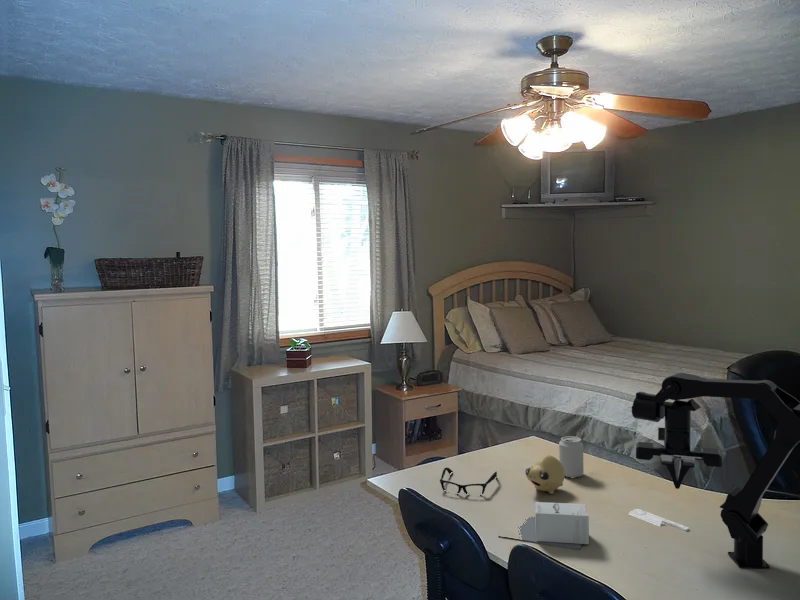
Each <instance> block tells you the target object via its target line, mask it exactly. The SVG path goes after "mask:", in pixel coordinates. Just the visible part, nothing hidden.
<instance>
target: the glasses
mask: <svg viewBox="0 0 800 600" xmlns="http://www.w3.org/2000/svg"><path fill="white" fill-rule="evenodd" d="M446 472H447V473H448V474H449V475H450V473H451V472H453V473H454V471H453V470H452V469H451V468H449V467H444V469H443V470H442V472H441V478H440V479H439V482H440V485H441V489H442V490H443V491H444V490H446V488H445V486H444V484H450V485H455V486H457V487H458V490H457V492H456V493H459V494H460V493H461V491H463V492H464V494H465V493H466V494H467V493H468V494H469V492H468V491H467V488H466V487H471V486H472V487H473V486H477V487H482V491H481V493H482V494H484V493H485V491H486V488H487V485H488V484H490V483H491V482H492V481H494V480H496V479H495V477H498V472H497V471H495V472H494V473H492V475H491V476H490V477H489V478H488V479H487V481H486V482H485V483H470V484H459V483H457V482H452V481H448V480H444V476H445V474H446ZM466 494H465V495H466Z"/></svg>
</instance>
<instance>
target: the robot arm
mask: <svg viewBox="0 0 800 600" xmlns="http://www.w3.org/2000/svg"><path fill="white" fill-rule="evenodd" d="M701 397H706V398H707V397H708V398H709V397H711V398H712V397H713V398H727V399H730V398H731V399H743V400H745V399H747V400H757V401H758V402H760V403H761V404H762V405H763V406H764V408H765V409H766V410H767V411H768V412H769V414H770V416H772V417H773V418H774V419H775V420H776V421H777V423H776V424H777V425H776V428H775V430H774V436H773V440H772V441H771V444H770V445H769V447H768V448H767V450H766V451H765V453H764V455H763V456H762V458H761V460H760V461H759V462H758V464H757V465H756V467H755V469H754V470H753V472H752V473H751V475H750V477H749V478H748V480H747V481H746V483H745V485H744V486H743V487H742V489H741V488H740V487H739V486H735V487H733V489H732V490H731V491H729V492H728V494H727V496H726V498H725V501H724V502H723V503H722V504H720V506H719V508H720V509H721V511H720V518H721V521H722V522H723V523H724V525H726V527H727V530H728V534H729V536H730V537H731V539H733V551H728V552H727V556H729V558H730V559H732V561H733V562H734V563H735V564H736V566H737V567H739V568H741V569H742V568H743V569H744V568H745V569H771V566H770V565H769V563H767V561H766V560H765V559H764V536H763V534H764V533H765V532H767V529H768V527H769V523H768V522H767V521H766V520H765V519H764V518H763V516H762V515H761V514H760V513H759V511H760V507H761V505H762V500H763V496H764V494H765V493H766V491H767V490H768V488H769V486H770V485H771V483H772V482H773V480H774V479H775V477H776V475H778V473H779V471H780V470H781V468H782V467H783V465H784V464H785V462H786V460H787V459H788V457H789V456H790V454H791V453H792V451H793V450H794V448H795V447H796V446H797V445H798V444H799V443H800V400H798V399H797V398H796V397H794V396H793V395H791V394H790V393H788V392H787V391H785V390H784V389H782V388H780V387H779V386H778V385H777V384H775V382H773V381H772V380H768V379H763V380H750V379H749V380H748V379H747V380H746V379H745V380H744V379H725V378H724V379H721V378H719V379H718V378H705V377H702V376H699V375H696V374H690V373H687V372H677V373H674V374H672V375H670V376H667V377H665V378H664V379H663V380H662V383H661V388H660V390H659V391H658V392H657V393H656V394H654V393H647V392H645V391H637V392H636V393H635V398H634V400H633V403H632V406H631V415H632V417H633V418H634V419H638V420H643V421H649V422H654V423H659V422H660V421H661V420H662V419H663V420H664V427H657V440H658V441H662V442H663V446H664V447H663V448H662V447H655V446H654V443H653V442H646V441H638V442H637V443H635V444H636V446H635V459H637V460H643V461H650V460H652V459H654V456H657V457H660V464H661V465H663V466H665V467H666V468H667V470H668V472H669V475H670V476H671V480H672V482H673V486H674V489H676V490H679V489H680V487H681V485H682V484H683V480H684V479H685V476H686V475H687V473H688V472H689V470H690V468H691V469H692V468H693V469H694V468H695V466H696V465H695V461H696V460H699V461H703V464H704V465H706V467H715V468H716V467H717V468H722V466H723V457H722V453H721V451H720V450H719V448H714V447H701V450H700V451H697V450H691V446H692V445H691V440H692V439H691V437H692V436H691V435H692V426H691V424H692V423H691V422H692V421H691V420H692V417H691V416H692V415H691V413H692V412H696V411H697V410H699V409H701V405H700V404H698V403H697V402H696V401H695V398H701ZM668 400H672V401H673V402H671V401H668ZM687 400H688V401H687ZM675 458H677V459H678V458H679V466H678V471H677V472H676V465H675V464H676V463H675ZM677 473H678V474H677Z"/></svg>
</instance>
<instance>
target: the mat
mask: <svg viewBox="0 0 800 600" xmlns="http://www.w3.org/2000/svg"><path fill="white" fill-rule="evenodd" d="M530 517H531V518H530ZM530 517H529V518H528V519H527V520H526V519H525V520H526V521H527V522H526V521H525V522H526V523H525V522H524V523H525V524H524V523H523V525H522V526H520V528H521V529H520V528H519V527H518V528H519V529H520V532H521V533H519V535H520V534H521V535H522V536H521V537H522V540H525V541H524V542H527V541H528V543H533V544H541V545H546V546H554V547H559V548H560V547H561V548H565V549H573V550H579V551H580V550H581V548H582V545H583V544H574V543H559V542H543V541H537V540H536V521H535V516H530ZM518 532H519V531H518ZM519 538H520V537H519Z"/></svg>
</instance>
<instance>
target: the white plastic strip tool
mask: <svg viewBox="0 0 800 600" xmlns="http://www.w3.org/2000/svg"><path fill="white" fill-rule="evenodd" d="M628 515H630V516H632V517H634V518H636V519H639V520H642V521H644V522H647V523H650V524H652V525H655V526H658V527H661V526H665V525H666V524H667V525H670V526H673V527H675V528H677V529H680V530H682V531H684V532H688V531H689V530H690V527H688V526H685V525H683V524H681V523H678V522H676V521H675V522H674V521H672V520H670V519H667V518H664V517H661V516H659V515H656V514H653V513H651V512H648V511H645V510H642V509H640V508H635V509H634V510H631V511H629V513H628Z"/></svg>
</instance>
